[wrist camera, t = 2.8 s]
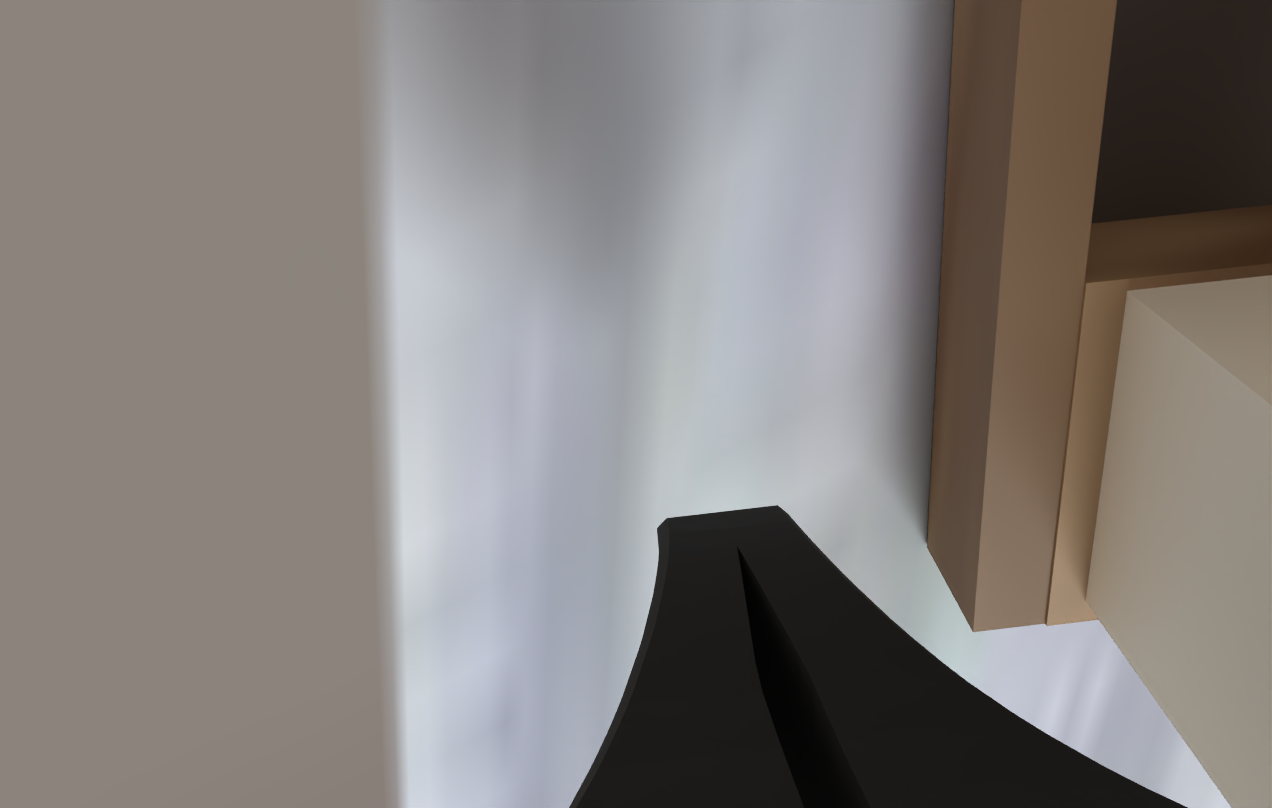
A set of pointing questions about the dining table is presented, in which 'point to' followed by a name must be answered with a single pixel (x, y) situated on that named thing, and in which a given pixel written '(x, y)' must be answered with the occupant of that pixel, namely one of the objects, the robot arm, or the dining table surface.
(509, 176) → the dining table surface
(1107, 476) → the cream block
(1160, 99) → the trap board
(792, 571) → the robot arm
